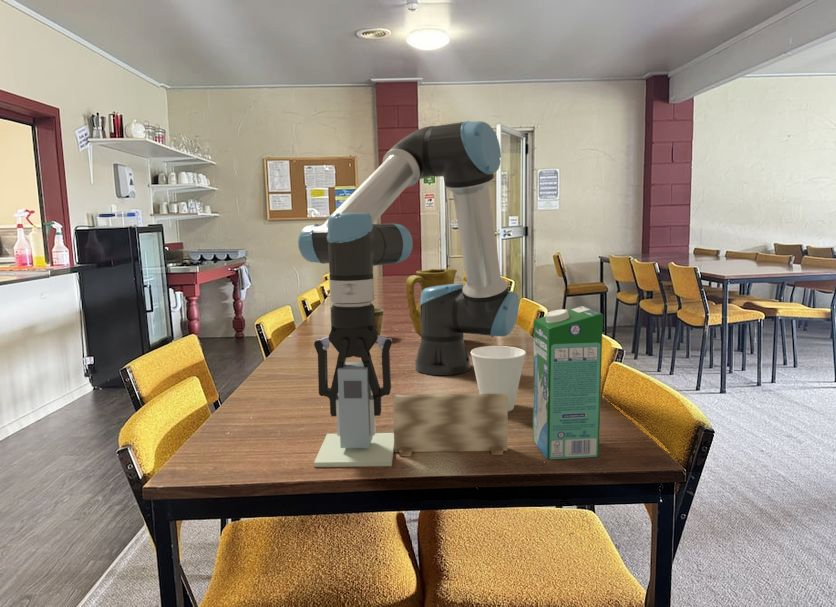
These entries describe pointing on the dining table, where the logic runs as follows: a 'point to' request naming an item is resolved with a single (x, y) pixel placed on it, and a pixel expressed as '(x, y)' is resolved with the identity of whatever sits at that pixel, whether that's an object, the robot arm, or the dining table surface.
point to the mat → (356, 452)
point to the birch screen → (450, 423)
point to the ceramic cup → (378, 319)
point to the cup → (498, 370)
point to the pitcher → (426, 280)
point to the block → (354, 405)
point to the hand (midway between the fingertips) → (356, 432)
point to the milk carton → (567, 383)
